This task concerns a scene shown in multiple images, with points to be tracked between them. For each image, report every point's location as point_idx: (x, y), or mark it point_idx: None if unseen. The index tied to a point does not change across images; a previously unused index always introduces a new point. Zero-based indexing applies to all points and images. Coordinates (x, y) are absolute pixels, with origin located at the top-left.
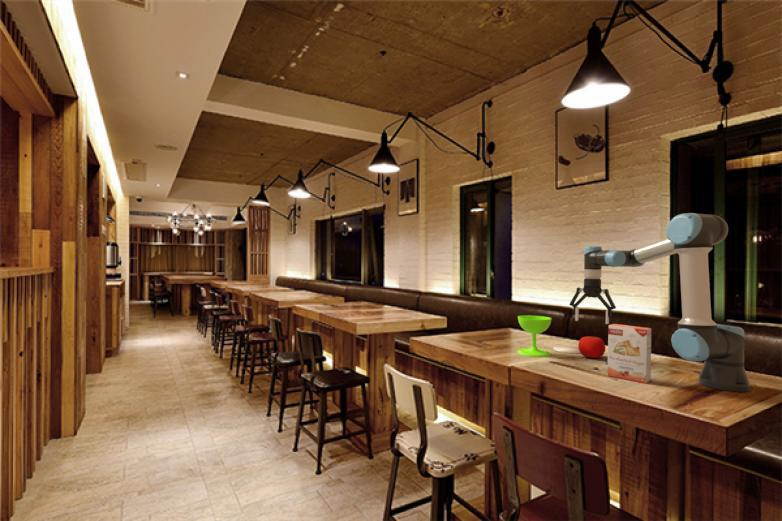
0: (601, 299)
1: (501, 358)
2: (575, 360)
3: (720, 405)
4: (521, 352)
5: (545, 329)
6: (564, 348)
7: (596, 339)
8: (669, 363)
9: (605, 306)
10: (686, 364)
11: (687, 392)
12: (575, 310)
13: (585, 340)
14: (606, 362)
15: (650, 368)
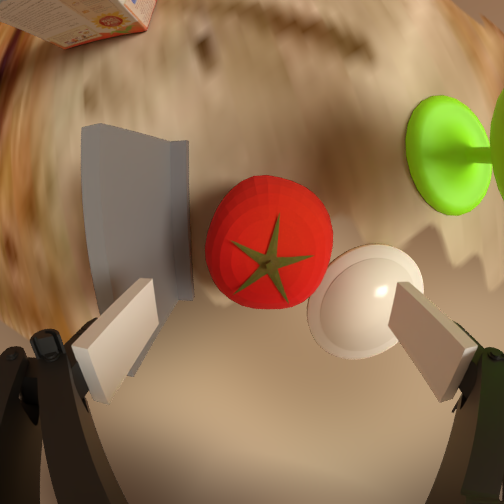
0: (72, 492)
1: (471, 36)
2: (306, 124)
3: (6, 24)
4: (475, 115)
5: (491, 131)
6: (386, 295)
7: (235, 229)
8: (65, 312)
9: (68, 384)
10: (46, 325)
11: (23, 41)
12: (458, 327)
13: (293, 200)
14: (184, 141)
15: (45, 38)
